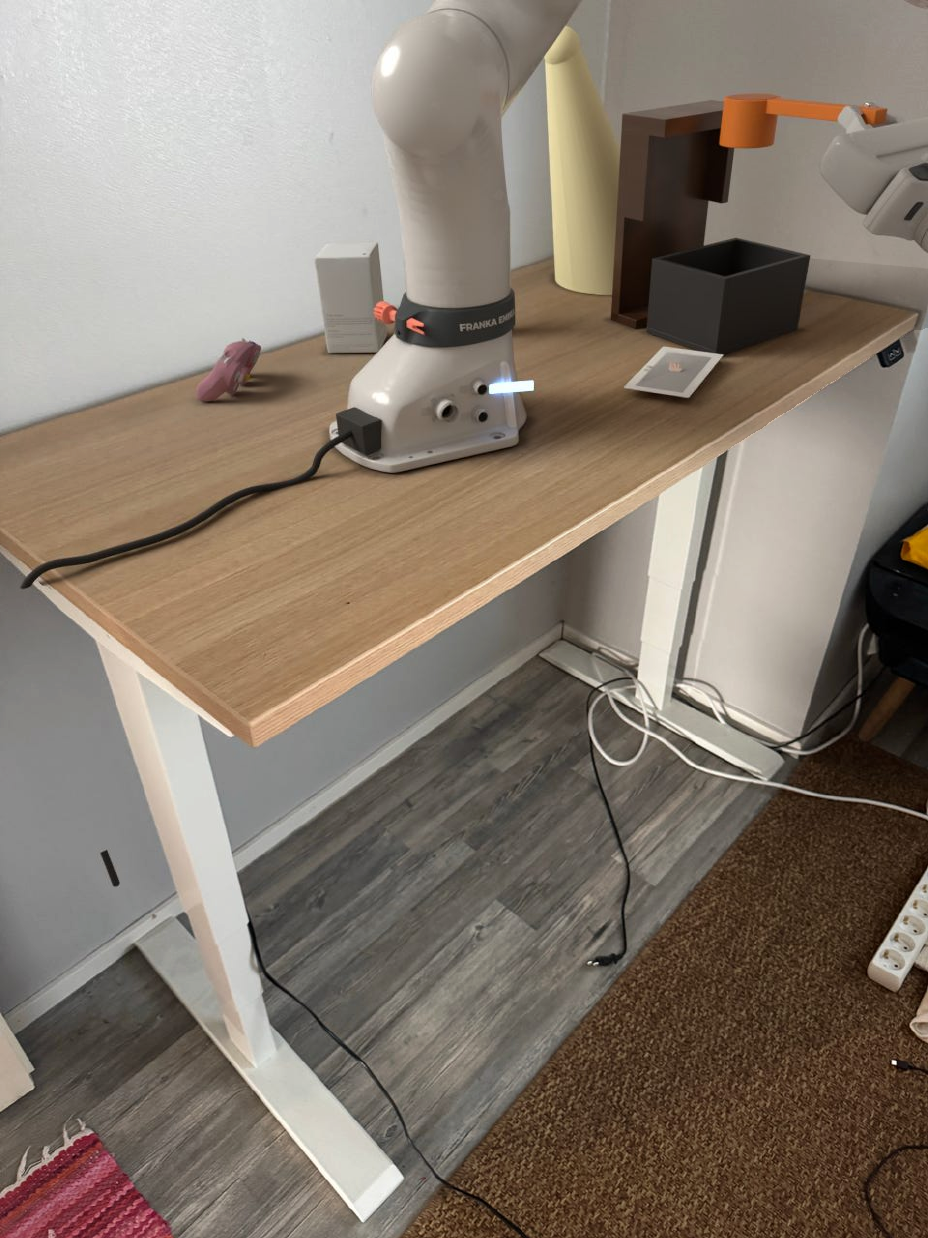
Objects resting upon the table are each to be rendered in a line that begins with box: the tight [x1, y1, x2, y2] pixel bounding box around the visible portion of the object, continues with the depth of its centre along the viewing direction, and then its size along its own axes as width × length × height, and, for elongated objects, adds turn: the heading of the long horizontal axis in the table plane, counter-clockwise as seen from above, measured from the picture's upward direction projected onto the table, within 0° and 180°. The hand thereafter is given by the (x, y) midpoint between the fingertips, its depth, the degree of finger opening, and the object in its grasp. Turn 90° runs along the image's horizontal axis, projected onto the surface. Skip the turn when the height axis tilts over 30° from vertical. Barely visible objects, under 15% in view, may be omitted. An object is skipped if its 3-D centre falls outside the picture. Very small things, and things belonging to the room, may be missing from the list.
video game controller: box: [195, 337, 262, 403], centre depth 113 cm, size 10×5×7 cm, turn 168°
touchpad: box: [623, 346, 724, 399], centre depth 111 cm, size 8×15×2 cm, turn 152°
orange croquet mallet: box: [719, 93, 889, 149], centre depth 105 cm, size 6×21×5 cm, turn 35°
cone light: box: [543, 25, 620, 296], centre depth 135 cm, size 25×18×35 cm
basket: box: [646, 237, 812, 356], centre depth 122 cm, size 16×13×10 cm
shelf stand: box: [610, 99, 735, 330], centre depth 124 cm, size 16×8×26 cm, turn 125°
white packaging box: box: [313, 241, 388, 354], centre depth 122 cm, size 7×7×13 cm
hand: (854, 109), depth 99 cm, fingers closed on orange croquet mallet
